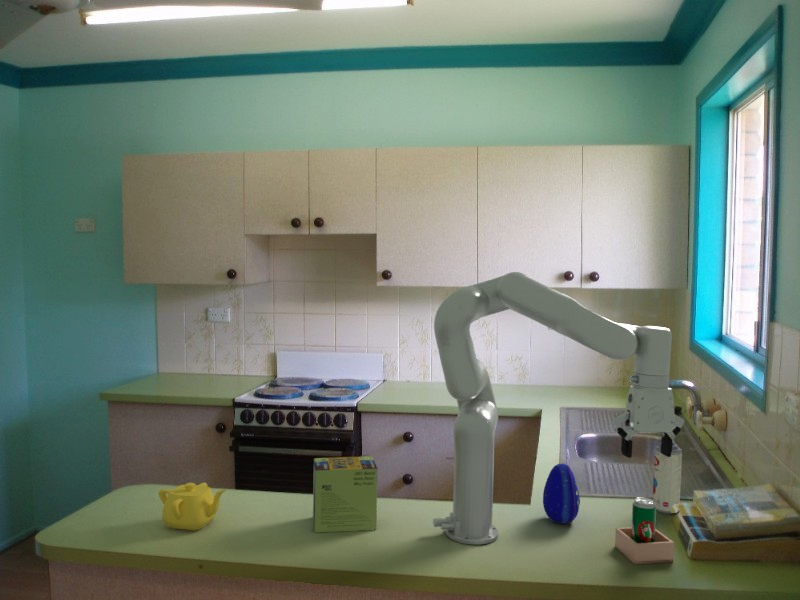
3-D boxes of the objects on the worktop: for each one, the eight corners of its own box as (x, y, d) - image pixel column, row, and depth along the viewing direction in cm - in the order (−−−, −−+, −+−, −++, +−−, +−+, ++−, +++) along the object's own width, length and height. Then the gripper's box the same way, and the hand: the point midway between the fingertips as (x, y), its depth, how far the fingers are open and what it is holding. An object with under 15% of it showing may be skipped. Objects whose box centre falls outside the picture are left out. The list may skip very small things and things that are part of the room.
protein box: (377, 530, 167) (378, 468, 166) (313, 533, 165) (314, 470, 163) (371, 514, 177) (372, 455, 176) (312, 517, 175) (312, 457, 174)
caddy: (635, 564, 151) (636, 544, 151) (614, 546, 160) (615, 528, 160) (673, 561, 153) (674, 542, 152) (650, 544, 162) (651, 526, 162)
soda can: (635, 545, 160) (637, 494, 159) (657, 551, 157) (659, 500, 156) (627, 552, 156) (629, 500, 155) (649, 558, 153) (651, 506, 152)
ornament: (581, 531, 169) (583, 471, 168) (543, 528, 170) (545, 469, 169) (576, 514, 180) (578, 458, 179) (541, 512, 181) (543, 456, 180)
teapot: (212, 511, 177) (212, 472, 177) (227, 528, 166) (227, 487, 166) (157, 520, 171) (157, 480, 170) (168, 539, 159) (168, 496, 159)
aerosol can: (652, 503, 189) (656, 432, 188) (679, 507, 187) (682, 435, 185) (651, 511, 183) (654, 438, 182) (679, 515, 180) (682, 441, 179)
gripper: (623, 384, 149) (619, 461, 150) (695, 384, 152) (690, 460, 153) (607, 378, 156) (603, 451, 157) (676, 378, 159) (671, 450, 160)
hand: (646, 455), depth 155 cm, fingers open, 9 cm apart
